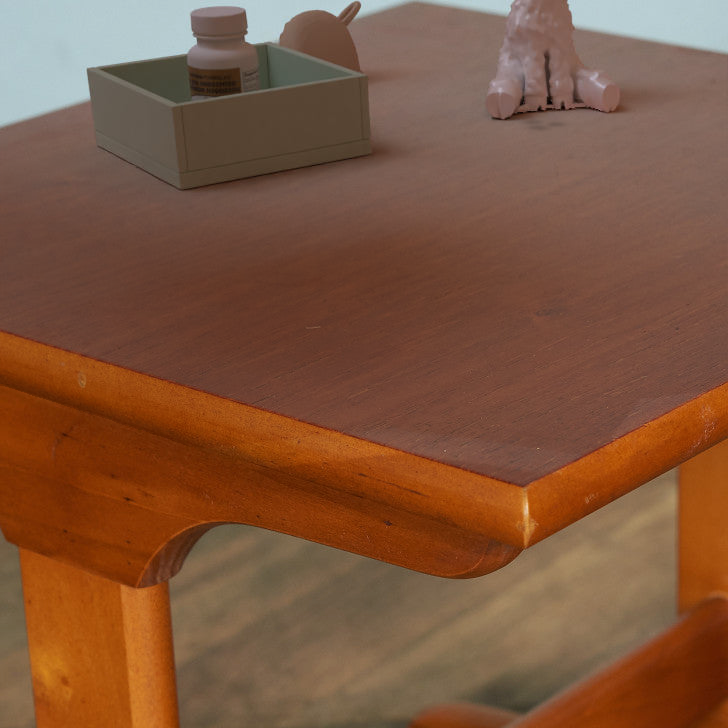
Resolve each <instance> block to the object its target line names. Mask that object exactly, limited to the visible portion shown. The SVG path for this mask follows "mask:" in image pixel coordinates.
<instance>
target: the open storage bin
mask: <svg viewBox="0 0 728 728" xmlns="http://www.w3.org/2000/svg"><path fill="white" fill-rule="evenodd" d="M251 44H252V45H253V46H254V47H255V49H256V51H257V56H258V66H259V78H260V90H258V91H251V92H245V93H239V94H233V95H226V96H220V97H214V98H208V99H201V100H195V101H192V100H191V91H190V81H189V72H188V63H187V54H188V53H182V54H176V55H175V54H174V55H168V56H162V57H155V58H148V59H147V58H146V59H140V60H134V61H133V60H132V61H126V62H121V63H112V64H107V65H106V64H105V65H99V66H96V67H95V66H91V67H86V76H87V83H88V91H89V97H90V98H89V100H90V106H91V107H90V108H91V114H92V121H93V122H92V123H93V129H94V136H95V143H96V146H98V147H100V148H102V149H104V150H105V151H107V152H109V153H111V154H113V155H114V156H116V157H119V158H120V159H122V160H124V161H126V162H128V163H130V164H131V165H133V166H136V167H137V168H139V169H141V170H143V171H145V172H147V173H148V174H151V175H152V176H154V177H156V178H158V179H159V180H162V181H163V182H166V183H168V184H169V185H171V186H173V187H175V188H177V189H179V190H188V189H193V188H199V187H205V186H209V185H214V184H215V185H216V184H219V183H226V182H230V181H236V180H240V179H246V178H251V177H256V176H262V175H268V174H273V173H279V172H283V171H289V170H293V169H294V170H295V169H299V168H304V167H305V168H306V167H310V166H316V165H322V164H326V163H332V162H337V161H341V160H347V159H353V158H359V157H363V156H368V155H372V140H371V138H372V135H371V133H372V132H371V117H370V104H369V103H370V99H369V78H368V79H367V77H368V75H367V74H365V73H364V74H362V73H359V72H356V71H353V70H350V69H347V68H345V67H342V66H339V65H336V64H333V63H330V62H327V61H324V60H321V59H319V58H316V57H313V56H310V55H307V54H304V53H301V52H298V51H295V50H292V49H290V48H287V47H284V46H281V45H279V43H275V42H272V41H266V42H258V43H251Z"/></svg>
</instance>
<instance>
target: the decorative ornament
mask: <svg viewBox="0 0 728 728" xmlns="http://www.w3.org/2000/svg"><path fill="white" fill-rule="evenodd" d="M361 8H362V3H361V2H360V1H359V0H355V1H353V2H351V3H350V4H348V5H347V6H346V7H345V8H344V9H343V10H342V11H341V12H340V13H339V14H338V15H335V14H333V13H331V12H328V11H327V10H321V9H312V10H311V9H310V10H306V11H302V12H300V13H298V14H296V15H295V16H293V17H292V18H291V19H290V20H289V21H287V22H285V24H284V27H283V30H282V32H281V33H280V34H279V37H278V38H279V39H278V41H279V42H278V45H281V46H284V47H287V48H290V49H292V50H295V51H298V52H301V53H304V54H307V55H310V56H313V57H316V58H319V59H321V60H324V61H327V62H330V63H333V64H336V65H339V66H342V67H345V68H347V69H350V70H353V71H356V72H359V73H362V74H365V73H364V72H363V71H362V69H361V66H360V61H359V55H358V52H357V48H356V45H355V43H354V39H353V37H352V35H351V33H350V30H349V29H348V26H349V25H350V24H351V22H352V21H353V20H354V19H355V17H357V15H358V14H359V12H360V10H361Z"/></svg>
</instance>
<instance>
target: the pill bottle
mask: <svg viewBox="0 0 728 728" xmlns="http://www.w3.org/2000/svg"><path fill="white" fill-rule="evenodd" d="M190 28H191V32H192V37H193V38H196V44H194V45H192V47H190V49H189V50H188V52H187V53H186V54H187V63H188V72H189V81H190V91H191V100H192V101H195V100H201V99H208V98H214V97H220V96H226V95H233V94H239V93H245V92H251V91H258V90H260V78H259V66H258V56H257V51H256V49H255V47H254V46H253V45H252V44H253V43H251V42H249V41H246V38H245V37H246V36H247V35H248V34H249V32H248V30H247V29H248V28H249V26H248V17H247V11H246V9H245V8H244V7H240V6H234V5H232V6H231V5H219V6H218V5H217V6H206V7H200V8H197V9H196V8H195V9H193V10H192V11H190Z"/></svg>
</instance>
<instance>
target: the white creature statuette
mask: <svg viewBox="0 0 728 728" xmlns="http://www.w3.org/2000/svg"><path fill="white" fill-rule="evenodd" d="M509 6H510V11H509V12H508V13H507V20H506V21H505V25H504V27H505V36H504V37H503V44H502V47H500V49H499V51H498V55H499V56H498V57H497V65H496V66H495V70H496V74H495V77H494V78H493V79H490V82H489V83H488V91H487V94H486V97H485V106H486V109H487V112H488V114H489V115H490V116H491V117H492V118H495V119H501V118H502V119H501V120H506V119H508V118H507V117H510V118H511V117H512V116H513V113H514V114H517V113H516V112H523V113H525V112H524V111H532V112H533V111H536V112H537V111H538V110H540V111H542V110H544V111H547V109H546V108H552V109H554V108H555V110H557V109H560V110H561V109H562V107H563V106H564V109H565V110H570V109H569V108H572V109H576V108H575V107H585V106H589V107H591V108H590V109H593V108H595V109H594V110H596V109H598V110H597V111H599V110H600V112H604V113H610V112H614V111H615V110H616V108H617V107H618V105H619V103H620V98H621V90H620V88H619V86H618V84H616V83H615V82H614V81H612V80H611V78H610V77H609V75H608V73H607V72H606V71H605V70H604V69H597V68H596V67H589V66H585V64H584V63H583V62H582V60H581V59H580V57H579V54H577V52H576V46H575V45H574V39H573V34H574V32H575V30H576V27H575V26H574V24H573V14H572V11H571V9H570V4H569V3H568V0H514V1H512V2H511V3H510V5H509ZM547 100H552V102H551V104H548V101H547ZM523 102H524V103H523ZM520 104H521V105H520ZM589 107H588V108H589ZM538 108H540V109H538ZM505 118H506V119H505Z"/></svg>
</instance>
